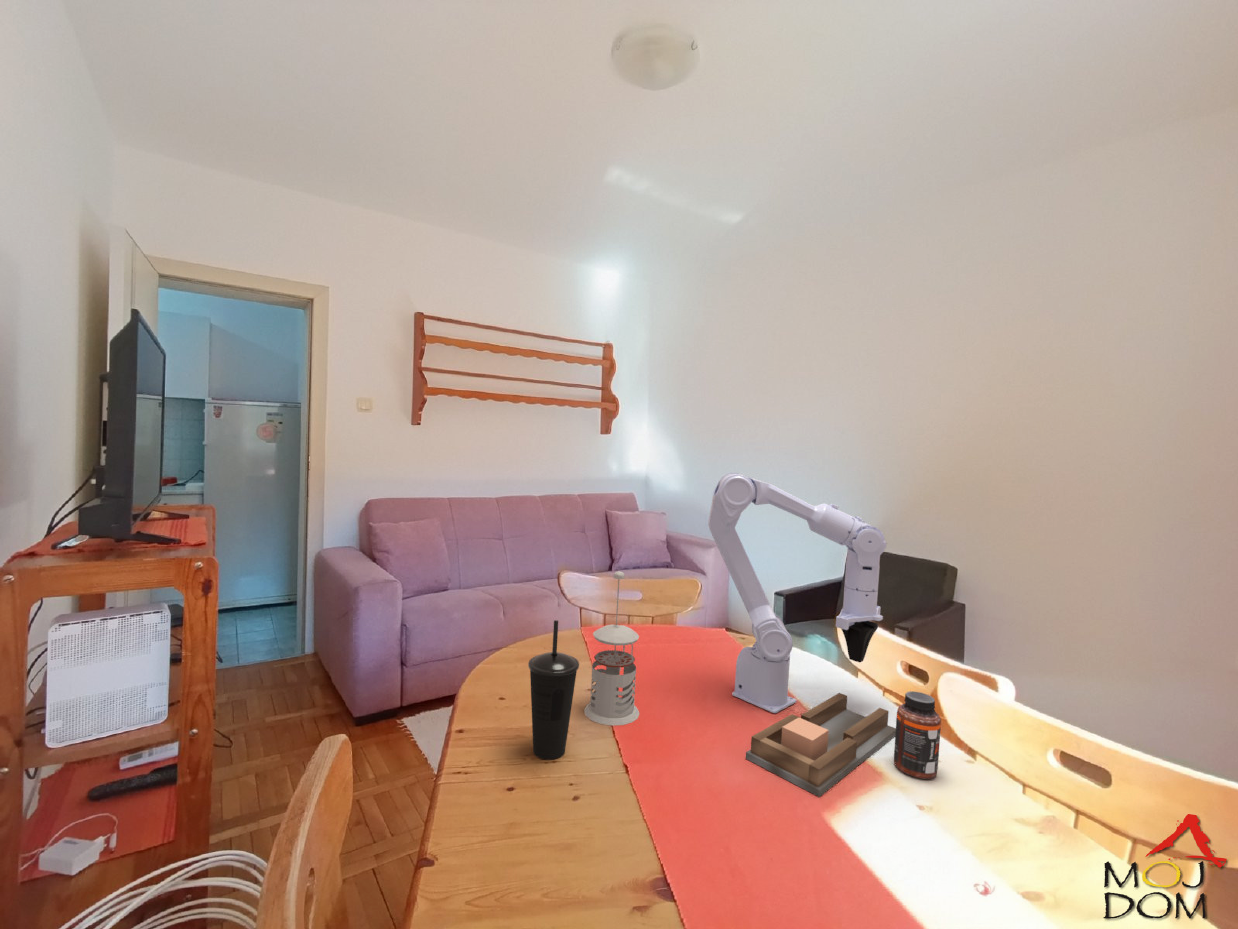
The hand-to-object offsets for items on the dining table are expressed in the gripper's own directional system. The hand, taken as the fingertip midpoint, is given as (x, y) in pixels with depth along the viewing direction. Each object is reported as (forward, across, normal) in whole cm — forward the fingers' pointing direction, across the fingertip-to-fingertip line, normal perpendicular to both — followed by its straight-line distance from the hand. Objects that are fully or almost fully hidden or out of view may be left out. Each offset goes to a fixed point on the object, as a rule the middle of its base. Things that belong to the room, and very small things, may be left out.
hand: (856, 660), depth 104 cm
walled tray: (+9, -17, -3) cm, 19 cm away
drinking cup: (+10, -53, +23) cm, 59 cm away
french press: (+10, -36, +27) cm, 46 cm away
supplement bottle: (+10, -12, -15) cm, 21 cm away
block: (+8, -24, -3) cm, 25 cm away
